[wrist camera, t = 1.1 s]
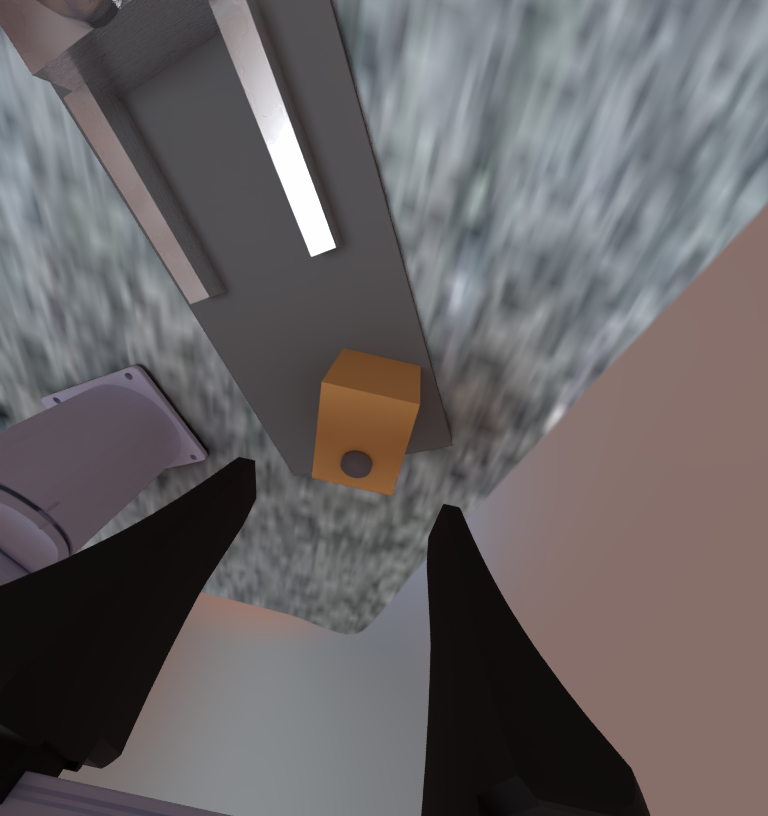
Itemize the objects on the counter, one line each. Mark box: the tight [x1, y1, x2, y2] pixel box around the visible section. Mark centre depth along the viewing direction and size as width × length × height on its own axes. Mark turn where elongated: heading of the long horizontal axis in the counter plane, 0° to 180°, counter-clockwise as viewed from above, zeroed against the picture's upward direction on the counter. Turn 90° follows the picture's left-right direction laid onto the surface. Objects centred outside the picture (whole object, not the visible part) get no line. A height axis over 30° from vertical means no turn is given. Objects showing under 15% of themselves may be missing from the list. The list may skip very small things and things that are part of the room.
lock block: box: [312, 348, 421, 496], centre depth 17 cm, size 4×6×5 cm
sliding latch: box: [0, 0, 344, 304], centre depth 11 cm, size 8×11×4 cm
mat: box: [50, 0, 453, 476], centre depth 16 cm, size 12×27×1 cm, turn 19°
